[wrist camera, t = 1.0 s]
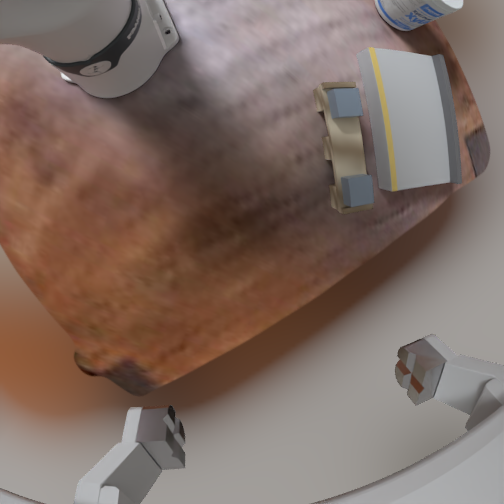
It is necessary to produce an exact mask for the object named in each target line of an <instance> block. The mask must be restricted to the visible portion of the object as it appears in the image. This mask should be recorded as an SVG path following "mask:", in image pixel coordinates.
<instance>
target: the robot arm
mask: <svg viewBox="0 0 504 504" xmlns="http://www.w3.org/2000/svg"><path fill="white" fill-rule="evenodd" d="M168 31H170V34H165V33H166V32H168ZM178 41H179V36H178V33H177V31H176V29H175V26H174V24H173V22H172V20H171V17H170V15H169V13H168V11H167V8H166V6H165V4H164V2H163V0H0V44H12V45H19V46H22V47H25V48H27V49H30V50H32V51H35V52H37V53H39V54H41V55H43V56H44V58H45V59H46V60H47V61H48V62H49V63H51V65H52V66H54V67H55V68H57V69H58V70H59V71H60V72H61V77H62V78H63V79H64V80H65V81H68V82H71V83H76V84H78V85H79V86H80V87H81V88H82V89H83V90H84V91H86V92H87V93H89V94H91V95H93V96H96V97H100V98H114V97H119V96H122V95H125V94H128V93H130V92H132V91H134V90H135V89H137V88H139V87H140V86H141V85H143V84H144V83H145V82H146V81H147V80H148V79H149V78H150V77H151V76H152V75H153V73H154V72H155V71H156V69H157V68H158V66H159V64H160V62H161V60H162V58H163V57H164V55H165V54H166V53H167V52H168V51H169V50H171V49H172V48H173V47H174V46H175V45H176V44H177V43H178ZM397 356H398V357H399V359H400V360H399V361H398V362H397V364H396V367H395V375H396V379H397V381H398V383H399V384H400V386H401V387H403V388H406V389H408V392H407V395H408V396H409V398H410V399H411V400H412V402H413V403H414V404H415V405H419V404H421V403H423V402H425V401H427V400H429V399H431V398H433V397H434V399H436V400H438V401H441V402H443V403H445V404H447V405H449V406H451V407H454V408H456V409H458V410H460V411H463V412H465V413H467V414H469V415H470V418H469V419H468V421H467V423H466V426H465V428H466V429H467V431H468V432H466V433H465V434H463V435H462V436H460V437H459V438H457V439H455V440H454V441H452V442H451V443H449V444H448V445H446V446H444V447H443V448H441V449H439V450H438V451H436V452H434V453H432V454H431V455H429V456H427V457H425V458H424V459H422V460H420V461H418V462H416V463H414V464H412V465H410V466H408V467H406V468H404V469H402V470H400V471H398V472H396V473H394V474H392V475H389V476H387V477H385V478H382V479H380V480H378V481H375V482H373V483H371V484H368V485H366V486H363V487H360V488H358V489H355V490H352V491H350V492H347V493H344V494H341V495H338V496H335V497H332V498H328V499H325V500H322V501H318V502H315V503H311V504H504V365H501V364H497V363H493V362H489V361H484V360H481V359H477V358H473V357H468V356H465V355H461V354H460V355H459V356H458V355H457V354H455V353H454V352H453V351H452V350H451V349H450V348H449V347H448V346H447V345H446V344H445V343H444V342H442V341H441V340H440V339H439V338H438V337H437V336H436V335H434V334H430V335H428V336H426V337H424V338H422V339H419V340H417V341H415V342H412V343H410V344H407V345H405V346H403V347H400V349H399V350H398V355H397ZM184 444H185V433H184V428H183V425H182V423H181V421H180V419H178V418H176V417H175V410H174V408H173V406H171V405H164V406H151V407H150V406H149V407H134V408H130V409H129V410H128V414H127V418H126V422H125V427H124V432H123V437H122V442H121V443H117V444H116V445H115V446H114V447H113V448H112V449H111V450H110V451H109V452H108V453H107V454H106V455H105V456H104V457H103V458H102V459H101V460H100V461H99V462H98V463H97V464H96V465H95V466H94V467H93V468H92V469H91V470H90V471H89V472H88V473H87V474H86V475H85V476H84V477H83V478H82V479H81V480H80V481H79V482H78V486H77V490H76V495H75V500H74V504H140V503H141V502H142V500H143V499H144V497H145V496H146V495H147V493H148V492H149V490H150V489H151V487H152V486H153V484H154V483H155V481H156V480H157V478H158V477H159V475H160V474H161V472H162V470H165V469H166V470H167V469H179V468H185V452H184V451H183V449H182V446H183V445H184ZM0 504H44V503H41V502H38V501H35V500H32V499H28V498H25V497H23V496H19V495H17V494H14V493H12V492H9V491H7V490H4V489H1V488H0Z"/></svg>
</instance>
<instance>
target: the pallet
mask: <svg viewBox="0 0 504 504" xmlns="http://www.w3.org/2000/svg"><path fill="white" fill-rule="evenodd" d="M355 87H356V83H355V82H325V83H322V84H320V85H319V87H318V88H316V89H314V90H313V92H314V97H315V102H316V108H317V112H322V111H324V114H325V120H326V125H327V131H328V137H322V141H323V148H324V154H325V160H332V163H333V171H334V178H335V184H333V185H329V190H330V198H331V206H332V208H335V209H337V210H338V212H340V213H342V214H349V213H354V212H359V211H364V210H369V209H373V203H371V204H365V205H360V206H355V207H350V206H347V205H345V204H344V201H343V192H342V184H341V177H344V176H351V175H358V174H367V172H366V164H365V156H364V149H363V141H362V135H361V128H360V122H359V116H358V117H349V118H335V119H332V117H331V112H330V106H329V101H328V96H327V92H328V91H330V90H332V89H341V88H355Z"/></svg>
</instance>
